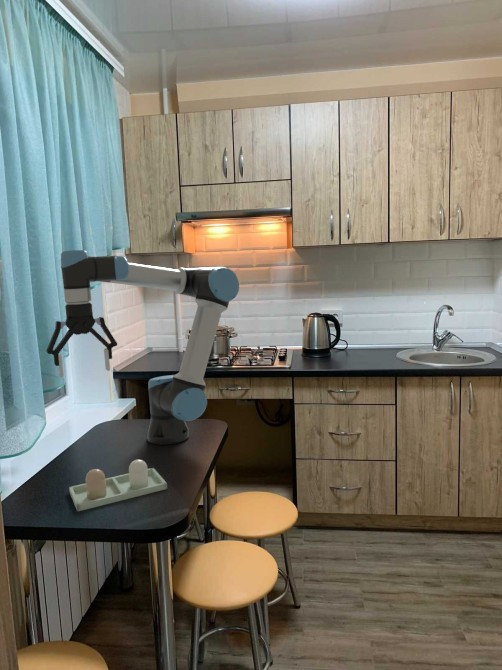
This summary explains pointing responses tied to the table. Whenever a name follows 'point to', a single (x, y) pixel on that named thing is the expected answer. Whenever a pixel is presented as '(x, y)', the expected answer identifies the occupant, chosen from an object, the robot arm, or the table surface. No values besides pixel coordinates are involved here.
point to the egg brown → (95, 484)
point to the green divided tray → (116, 490)
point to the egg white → (138, 474)
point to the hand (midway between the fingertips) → (85, 373)
